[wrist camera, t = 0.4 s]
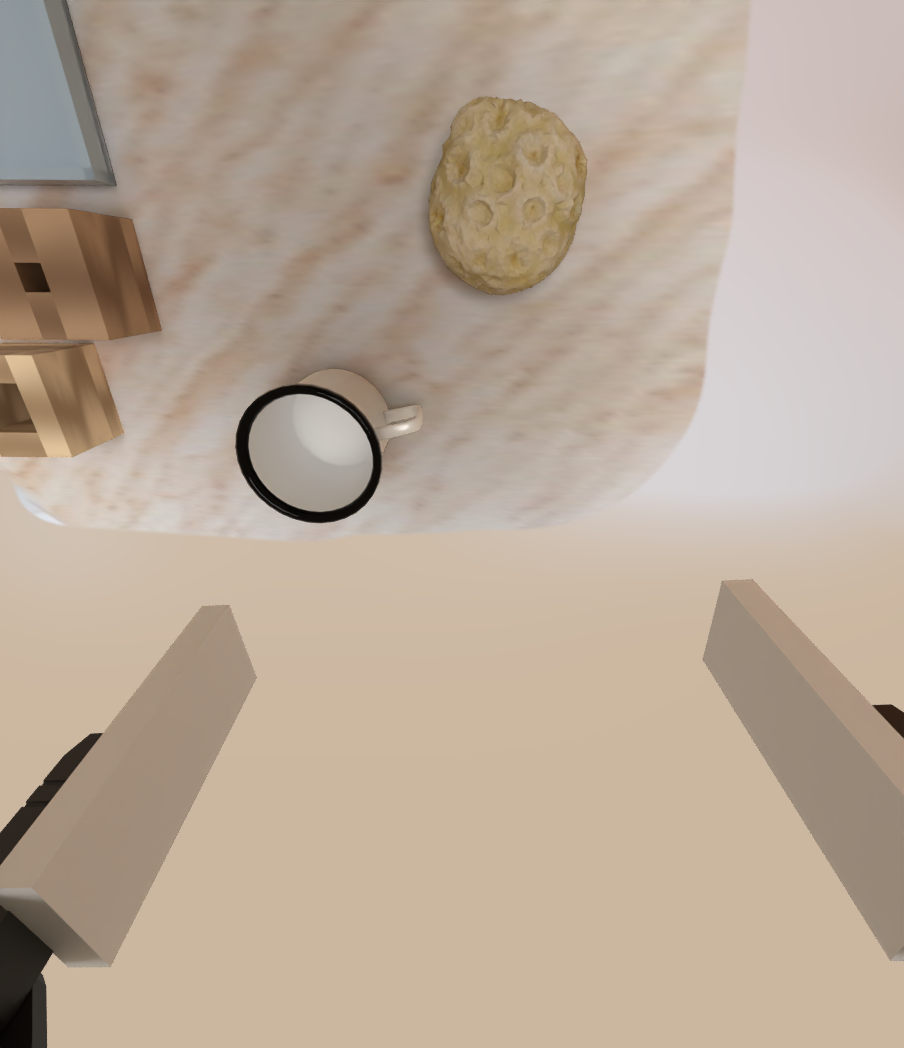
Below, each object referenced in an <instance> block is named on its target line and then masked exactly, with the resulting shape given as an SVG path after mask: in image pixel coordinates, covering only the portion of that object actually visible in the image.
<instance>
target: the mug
mask: <svg viewBox="0 0 904 1048" xmlns="http://www.w3.org/2000/svg"><path fill="white" fill-rule="evenodd" d="M411 417H415V418H414V419H412V420H409V421H406V422H402V423H397V424H391V423H392V422H396V421H399V420H403V419H407V418H411ZM423 421H424V415H423V411H422V407H420V406H419V405H413V406H407V407H402V408H396V409H391V410H388V407H387V405H386V402H385V400H384V399H383V397H382V396H381V394H380V392H379V391H378V390H377V389H376V388H375V387H374V386H373V385H372V384H371V383H370V382H368V381H367V380H366V379H364V378H363V377H361V376H359V375H357V374H355V373H353V372H350V371H346V370H342V369H326V370H320V371H318V372H315V373H312V374H311V375H309V376H307V377H306V378H304V379H303V380H301V381H300V382H298V383H296V384H288V385H282V386H279V387H276V388H274V389H271V390H269V391H267V392H266V393H264V394H263V395H261V396H259V397H258V398H257V399H256V400H255V401H254V402H253V403H252V404H251V405H250V406H249V407H248V408H247V409H246V411H245V413H244V414H243V416H242V418H241V420H240V422H239V425H238V429H237V432H236V445H235V448H236V454H237V461H238V464H239V466H240V469H241V472H242V474H243V476H244V478H245V479H246V481H247V483H248V485H249V486H250V487H251V489H252V490H253V491H254V492H255V493H256V495H257V496H258V497H259V498H260V499H261V500H263V501H264V502H265V503H266V504H267V505H268V506H270V507H271V508H273V509H274V510H276V511H278V512H279V513H281V514H283V515H285V516H288V517H290V518H293V519H296V520H300V521H304V522H310V523H327V522H335V521H338V520H341V519H345V518H347V517H349V516H351V515H353V514H354V513H356V512H357V511H359V510H360V509H361V508H362V507H363V506H365V505H366V504H367V502H368V501H369V500H370V498H371V497H372V496H373V494H374V493H375V491H376V488H377V486H378V484H379V482H380V478H381V474H382V469H383V455H382V454H383V452H384V450H385V447H386V445H387V443H388V441H389V439H390V438H394V437H398V436H402V435H406V434H410V433H413V432H416V431H418V430H419V429H420V428H421V426H422V424H423Z"/></svg>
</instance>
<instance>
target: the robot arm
mask: <svg viewBox="0 0 904 1048" xmlns="http://www.w3.org/2000/svg"><path fill="white" fill-rule="evenodd" d="M703 661H704V662H705V664H706V666H707V667H708V669H709V670H710V672H711V673H712V675H713V677H714V678H715V680H716V682H717V683H718V685H719V686H720V688H721V690H722V691H723V693H724V695H725V696H726V698H727V699H728V701H729V703H730V704H731V706H732V707H733V709H734V711H735V712H736V714H737V715H738V717H739V718H740V720H741V722H742V723H743V725H744V727H745V728H746V730H747V731H748V733H749V735H750V736H751V738H752V739H753V741H754V743H755V744H756V746H757V747H758V749H759V751H760V752H761V754H762V755H763V757H764V759H765V760H766V762H767V764H768V765H769V767H770V768H771V770H772V771H773V773H774V775H775V776H776V778H777V779H778V781H779V783H780V784H781V786H782V788H783V789H784V791H785V792H786V794H787V796H788V797H789V799H790V800H791V802H792V804H793V805H794V807H795V808H796V810H797V812H798V813H799V815H800V816H801V818H802V820H803V821H804V823H805V825H806V826H807V828H808V829H809V831H810V833H811V834H812V836H813V837H814V839H815V841H816V842H817V844H818V845H819V847H820V849H821V850H822V852H823V853H824V855H825V856H826V858H827V860H828V861H829V863H830V865H831V866H832V868H833V869H834V871H835V873H836V874H837V876H838V877H839V879H840V881H841V882H842V884H843V885H844V887H845V889H846V890H847V892H848V894H849V895H850V897H851V898H852V900H853V902H854V903H855V905H856V906H857V908H858V910H859V911H860V913H861V914H862V916H863V917H864V919H865V921H866V923H867V924H868V926H869V927H870V929H871V931H872V932H873V934H874V935H875V937H876V939H877V940H878V942H879V943H880V945H881V947H882V948H883V950H884V951H885V953H886V955H887V956H888V958H889V959H890V961H904V712H902V711H901V710H899V709H898V708H896V707H894V706H893V705H871V704H870V703H869V702H868V701H867V700H866V699H865V697H864V696H863V695H861V693H860V692H859V691H858V690H857V689H856V688H855V687H854V686H853V685H852V684H851V683H850V682H849V681H848V680H847V678H846V677H845V676H844V675H843V674H842V673H841V672H840V671H839V670H838V669H837V668H836V667H835V666H834V665H833V664H832V663H831V662H830V661H829V659H828V658H827V657H826V656H825V655H824V654H823V653H822V652H821V651H820V650H819V649H818V648H817V647H816V646H815V645H814V644H813V643H812V642H811V641H810V639H808V637H807V636H806V635H805V634H804V633H803V632H802V631H801V630H800V629H799V628H798V627H797V626H796V625H795V624H794V623H793V622H792V620H791V619H790V618H789V617H788V616H787V615H786V614H785V613H784V612H783V611H782V610H781V609H780V608H779V607H778V606H777V605H776V604H775V603H774V601H773V600H772V599H771V598H770V597H769V596H768V595H767V594H766V593H765V592H764V591H763V590H762V589H761V588H760V587H759V586H758V585H757V584H756V583H755V581H754V580H753V579H752V580H732V581H731V580H730V581H722V583H721V588H720V592H719V596H718V600H717V604H716V608H715V612H714V616H713V620H712V624H711V628H710V632H709V636H708V640H707V644H706V648H705V652H704V656H703ZM256 678H257V677H256V674H255V672H254V669H253V666H252V664H251V661H250V658H249V656H248V653H247V651H246V648H245V645H244V643H243V640H242V637H241V635H240V632H239V629H238V627H237V624H236V621H235V619H234V616H233V614H232V611H231V608H230V606H229V605H217V606H202V607H201V608H200V610H199V611H198V612H197V613H196V615H195V616H194V617H193V619H192V620H191V621H190V622H189V624H188V625H187V626H186V627H185V629H184V630H183V632H182V633H181V634H180V635H179V636H178V638H177V639H176V640H175V642H174V643H173V644H172V645H171V647H170V648H169V649H168V651H167V652H166V653H165V654H164V656H163V657H162V658H161V660H160V661H159V662H158V663H157V665H156V666H155V667H154V669H153V670H152V671H151V672H150V674H149V675H148V676H147V678H146V679H145V680H144V682H143V683H142V684H141V685H140V687H139V688H138V689H137V690H136V692H135V693H134V694H133V696H132V697H131V698H130V699H129V701H128V702H127V703H126V705H125V706H124V707H123V709H122V710H121V711H120V712H119V714H118V715H117V716H116V718H115V719H114V720H113V721H112V723H111V724H110V725H109V727H108V728H107V729H106V730H105V732H104V733H98V734H97V733H94V734H90V735H89V736H87V737H86V738H85V739H84V740H82V742H80V743H79V744H77V745H76V746H75V747H74V748H73V749H71V750H70V751H69V752H68V753H67V754H65V755H64V756H63V757H62V759H61V760H60V761H59V762H58V764H57V765H56V766H55V767H54V768H53V770H52V771H51V772H50V773H49V775H48V776H47V777H46V778H45V779H44V783H43V785H42V786H39V787H38V788H37V789H36V790H35V791H34V793H33V794H32V795H31V796H30V797H29V799H28V800H27V801H26V806H25V807H21V808H20V810H19V811H18V812H17V813H16V814H15V816H14V817H13V818H12V819H11V821H10V822H9V823H8V824H7V825H6V827H5V828H4V829H3V830H2V831H1V833H0V1048H47V1010H46V984H45V981H44V978H43V975H42V974H41V971H42V970H43V968H44V966H45V965H46V963H47V961H48V960H49V958H50V956H51V955H52V953H54V954H55V955H56V956H57V957H58V958H59V959H60V960H61V961H62V962H64V963H65V964H66V965H67V966H68V967H111V965H112V963H113V961H114V959H115V957H116V955H117V953H118V951H119V949H120V947H121V945H122V943H123V941H124V939H125V937H126V935H127V933H128V931H129V929H130V927H131V925H132V923H133V921H134V919H135V917H136V915H137V913H138V911H139V909H140V907H141V905H142V903H143V901H144V899H145V897H146V895H147V894H148V892H149V890H150V887H151V885H152V884H153V882H154V880H155V878H156V876H157V873H158V871H159V870H160V868H161V866H162V864H163V862H164V860H165V858H166V856H167V854H168V852H169V850H170V848H171V846H172V844H173V842H174V840H175V838H176V836H177V834H178V832H179V830H180V828H181V826H182V824H183V822H184V820H185V818H186V816H187V814H188V812H189V811H190V809H191V807H192V804H193V803H194V801H195V798H196V797H197V795H198V793H199V791H200V789H201V787H202V785H203V783H204V781H205V779H206V777H207V775H208V773H209V771H210V769H211V767H212V765H213V763H214V761H215V759H216V757H217V755H218V753H219V751H220V749H221V747H222V745H223V743H224V741H225V739H226V737H227V735H228V733H229V731H230V729H231V727H232V725H233V724H234V722H235V719H236V717H237V716H238V714H239V712H240V710H241V708H242V706H243V703H244V702H245V700H246V698H247V696H248V694H249V692H250V690H251V688H252V686H253V684H254V682H255V680H256Z"/></svg>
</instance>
